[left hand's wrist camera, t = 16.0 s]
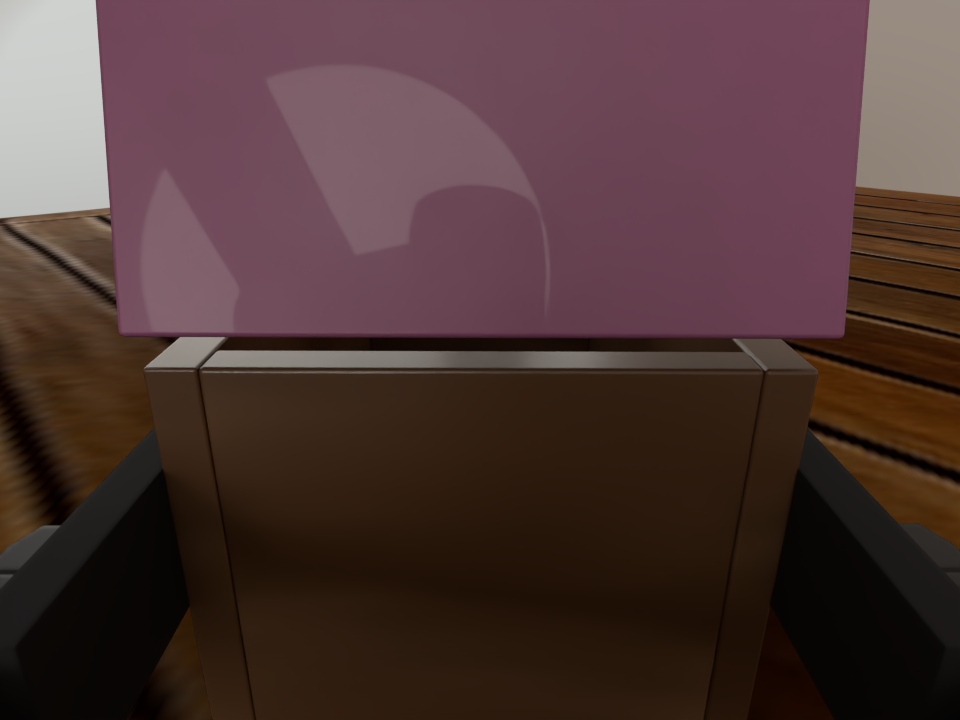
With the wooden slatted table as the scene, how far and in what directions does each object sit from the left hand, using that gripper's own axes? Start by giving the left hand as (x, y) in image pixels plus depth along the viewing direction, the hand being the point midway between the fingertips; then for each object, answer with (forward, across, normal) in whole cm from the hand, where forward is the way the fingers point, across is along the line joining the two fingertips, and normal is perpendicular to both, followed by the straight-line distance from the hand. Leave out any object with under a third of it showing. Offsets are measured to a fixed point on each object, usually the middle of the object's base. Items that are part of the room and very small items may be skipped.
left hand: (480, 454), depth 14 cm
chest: (+5, 0, -6) cm, 8 cm away
